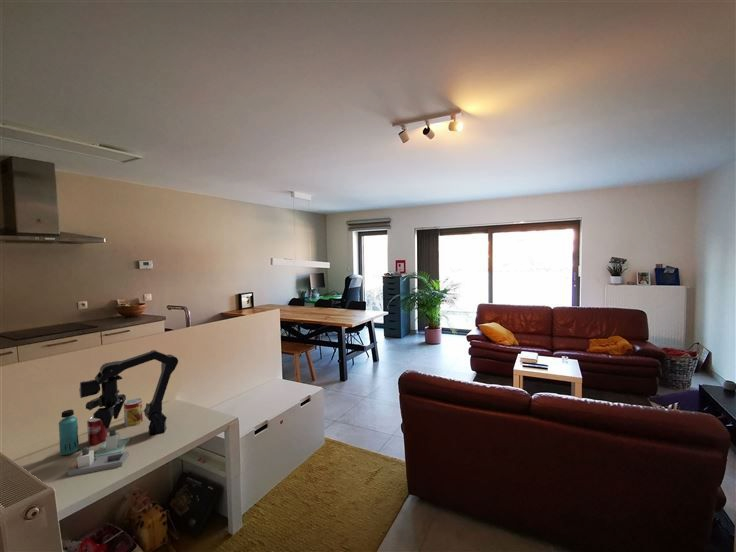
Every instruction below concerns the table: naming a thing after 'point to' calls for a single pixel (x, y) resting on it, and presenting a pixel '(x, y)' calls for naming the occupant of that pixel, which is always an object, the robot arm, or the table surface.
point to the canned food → (133, 412)
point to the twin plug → (85, 458)
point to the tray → (120, 448)
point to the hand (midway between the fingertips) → (111, 423)
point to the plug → (112, 440)
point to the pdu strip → (101, 463)
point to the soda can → (96, 431)
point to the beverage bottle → (68, 433)
